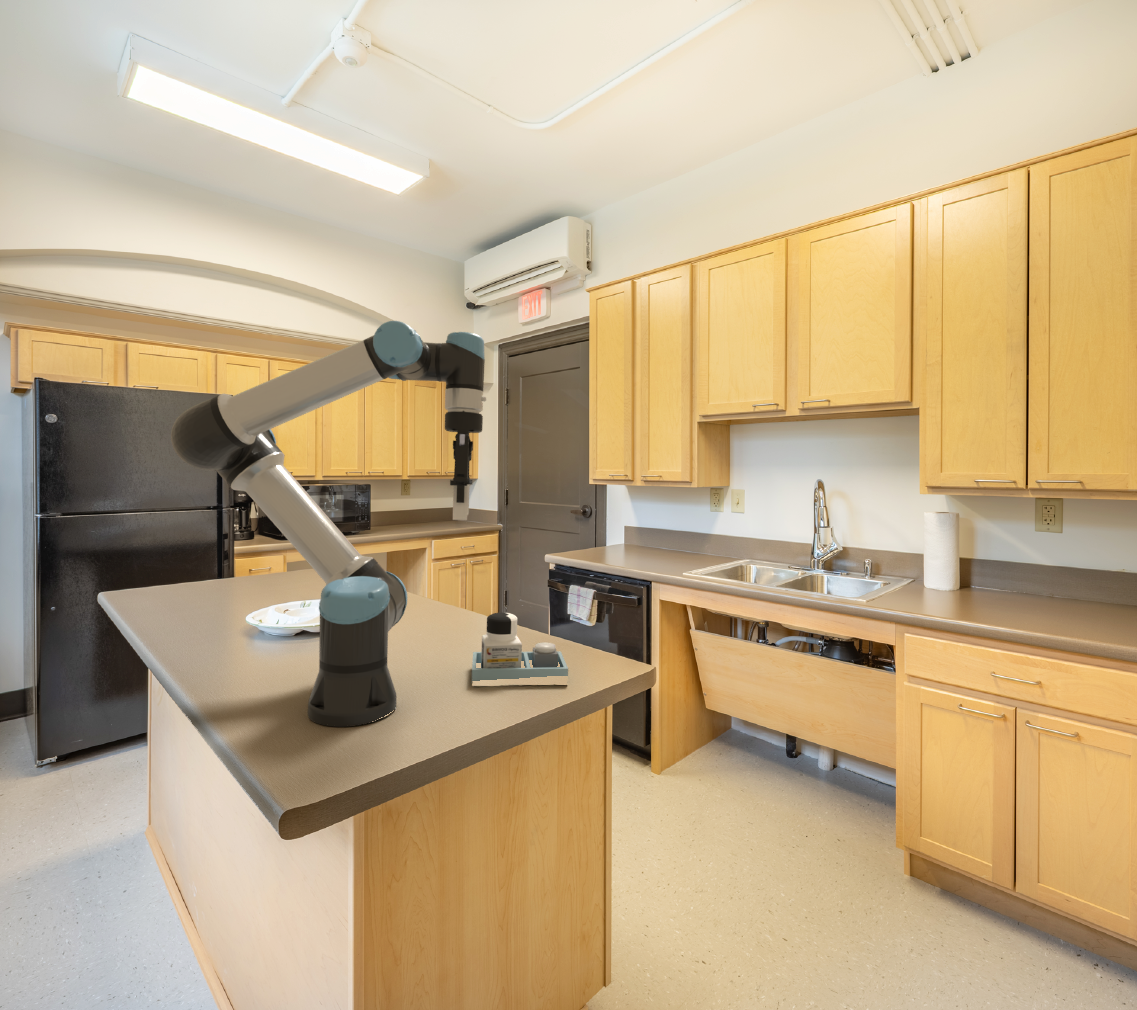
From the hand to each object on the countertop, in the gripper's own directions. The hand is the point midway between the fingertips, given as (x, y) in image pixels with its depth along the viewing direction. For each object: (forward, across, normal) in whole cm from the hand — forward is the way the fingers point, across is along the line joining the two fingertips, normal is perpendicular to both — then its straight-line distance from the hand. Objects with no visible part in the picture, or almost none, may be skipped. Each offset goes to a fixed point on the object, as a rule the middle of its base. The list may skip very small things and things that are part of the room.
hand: (461, 517), depth 121 cm
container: (+34, +5, -9) cm, 36 cm away
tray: (+35, +5, -13) cm, 37 cm away
